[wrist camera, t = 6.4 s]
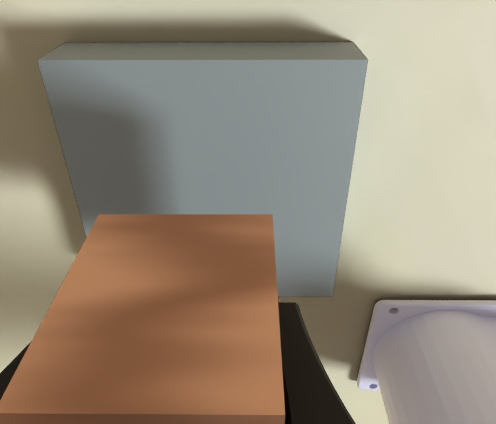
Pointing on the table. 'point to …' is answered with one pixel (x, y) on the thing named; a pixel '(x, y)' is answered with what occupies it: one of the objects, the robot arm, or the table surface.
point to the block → (159, 327)
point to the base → (216, 137)
